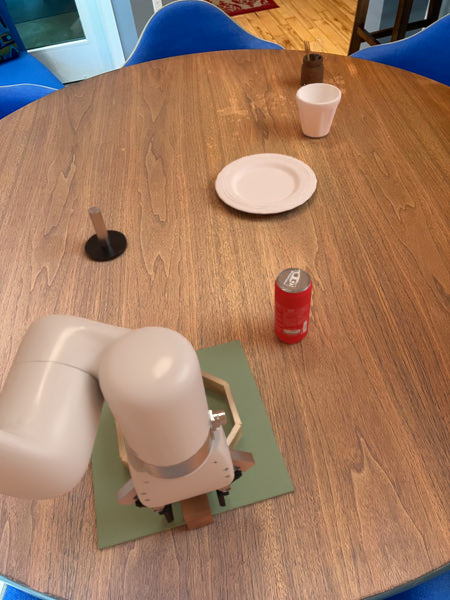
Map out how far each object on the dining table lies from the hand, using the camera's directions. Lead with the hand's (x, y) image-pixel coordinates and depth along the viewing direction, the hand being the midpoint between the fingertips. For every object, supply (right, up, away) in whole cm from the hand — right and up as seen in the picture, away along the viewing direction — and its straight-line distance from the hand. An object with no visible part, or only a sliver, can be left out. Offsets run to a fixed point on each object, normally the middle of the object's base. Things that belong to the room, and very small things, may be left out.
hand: (194, 501), depth 57 cm
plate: (+12, +47, +43) cm, 65 cm away
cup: (+25, +64, +56) cm, 88 cm away
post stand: (-19, +34, +34) cm, 52 cm away
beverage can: (+14, +19, +18) cm, 29 cm away
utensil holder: (+27, +82, +72) cm, 112 cm away
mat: (-3, +6, +8) cm, 10 cm away
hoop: (-2, +5, +6) cm, 8 cm away
